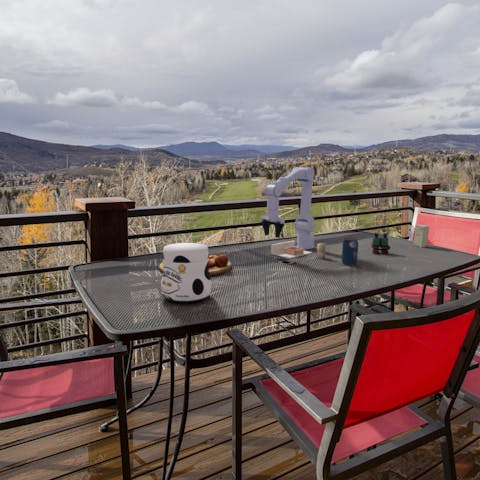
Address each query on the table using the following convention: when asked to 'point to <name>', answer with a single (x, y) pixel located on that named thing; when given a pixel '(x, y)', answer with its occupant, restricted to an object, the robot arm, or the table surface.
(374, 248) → the binoculars
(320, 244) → the beige cylinder
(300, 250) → the cup bracket
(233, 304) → the table surface
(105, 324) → the table surface
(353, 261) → the soda can
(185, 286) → the milk container
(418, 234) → the skincare box
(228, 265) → the wooden plate with food
